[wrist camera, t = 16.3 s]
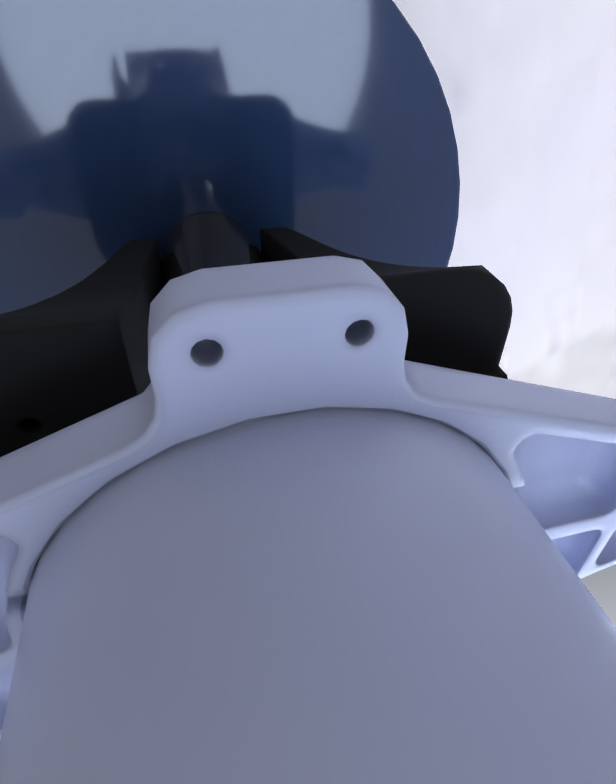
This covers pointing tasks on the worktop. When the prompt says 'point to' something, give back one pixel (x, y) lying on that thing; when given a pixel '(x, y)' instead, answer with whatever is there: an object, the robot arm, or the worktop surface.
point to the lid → (216, 135)
